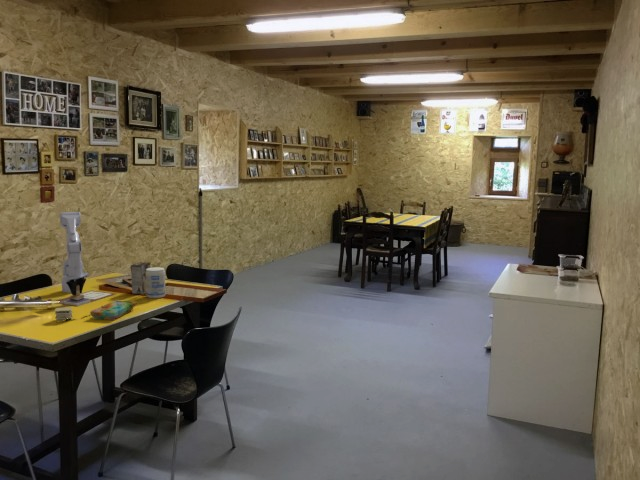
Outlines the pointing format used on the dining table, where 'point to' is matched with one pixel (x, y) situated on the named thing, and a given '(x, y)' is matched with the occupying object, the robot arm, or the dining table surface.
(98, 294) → the paper
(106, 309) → the puzzle game
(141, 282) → the coffee box
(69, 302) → the ink pad
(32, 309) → the dining table surface
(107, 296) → the desk board
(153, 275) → the supplement tub
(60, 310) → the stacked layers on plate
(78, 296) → the stamp
